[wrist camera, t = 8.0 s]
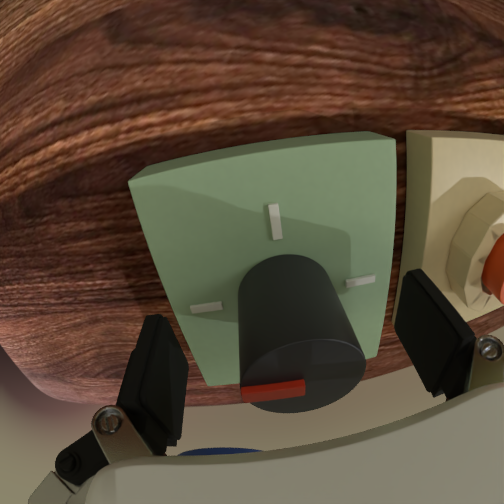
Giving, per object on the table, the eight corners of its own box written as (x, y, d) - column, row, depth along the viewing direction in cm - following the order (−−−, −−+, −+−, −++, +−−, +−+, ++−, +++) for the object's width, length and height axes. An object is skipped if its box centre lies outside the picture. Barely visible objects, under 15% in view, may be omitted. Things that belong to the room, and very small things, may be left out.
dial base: (363, 328, 17) (377, 358, 15) (209, 355, 17) (207, 388, 15) (369, 131, 11) (398, 139, 9) (146, 166, 12) (124, 182, 9)
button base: (490, 288, 17) (518, 319, 13) (390, 321, 17) (415, 365, 14) (517, 136, 11) (561, 153, 7) (405, 129, 11) (458, 145, 8)
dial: (331, 247, 11) (380, 334, 7) (328, 321, 13) (358, 407, 9) (230, 260, 11) (229, 359, 7) (244, 333, 13) (249, 426, 9)
